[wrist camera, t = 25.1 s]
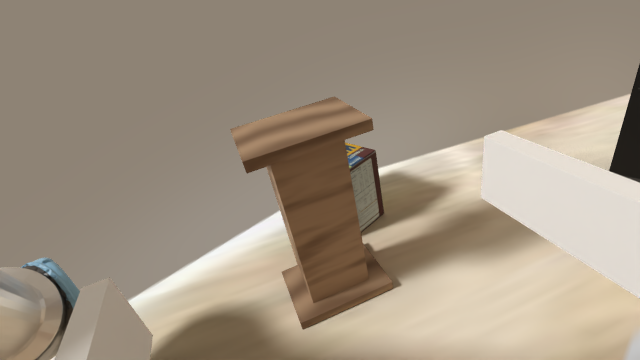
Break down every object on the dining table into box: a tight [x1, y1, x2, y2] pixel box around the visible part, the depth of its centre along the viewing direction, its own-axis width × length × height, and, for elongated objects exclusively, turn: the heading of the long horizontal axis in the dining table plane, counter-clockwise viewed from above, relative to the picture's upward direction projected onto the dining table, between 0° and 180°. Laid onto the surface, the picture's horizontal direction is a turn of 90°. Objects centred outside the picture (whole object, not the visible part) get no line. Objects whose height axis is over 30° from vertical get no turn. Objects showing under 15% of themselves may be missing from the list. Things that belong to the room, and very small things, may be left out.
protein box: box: [345, 143, 384, 232], centre depth 71 cm, size 10×15×16 cm
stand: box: [231, 97, 393, 329], centre depth 51 cm, size 12×16×30 cm
